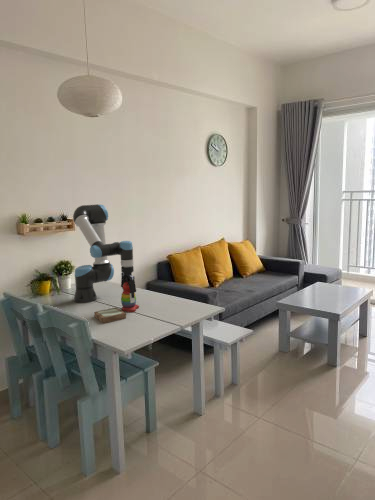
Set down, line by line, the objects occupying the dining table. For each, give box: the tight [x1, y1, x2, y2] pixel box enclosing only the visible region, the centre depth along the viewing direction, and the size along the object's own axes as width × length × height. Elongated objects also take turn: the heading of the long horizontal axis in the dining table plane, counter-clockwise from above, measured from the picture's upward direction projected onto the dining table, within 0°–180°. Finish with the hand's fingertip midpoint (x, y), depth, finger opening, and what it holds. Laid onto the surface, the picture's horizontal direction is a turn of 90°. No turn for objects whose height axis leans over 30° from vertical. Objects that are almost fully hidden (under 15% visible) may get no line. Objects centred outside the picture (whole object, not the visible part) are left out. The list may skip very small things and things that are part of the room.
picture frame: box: [94, 307, 127, 324], centre depth 228 cm, size 14×14×3 cm
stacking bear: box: [120, 282, 140, 313], centre depth 241 cm, size 11×10×18 cm
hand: (129, 300), depth 242 cm, fingers closed on stacking bear, 9 cm apart
